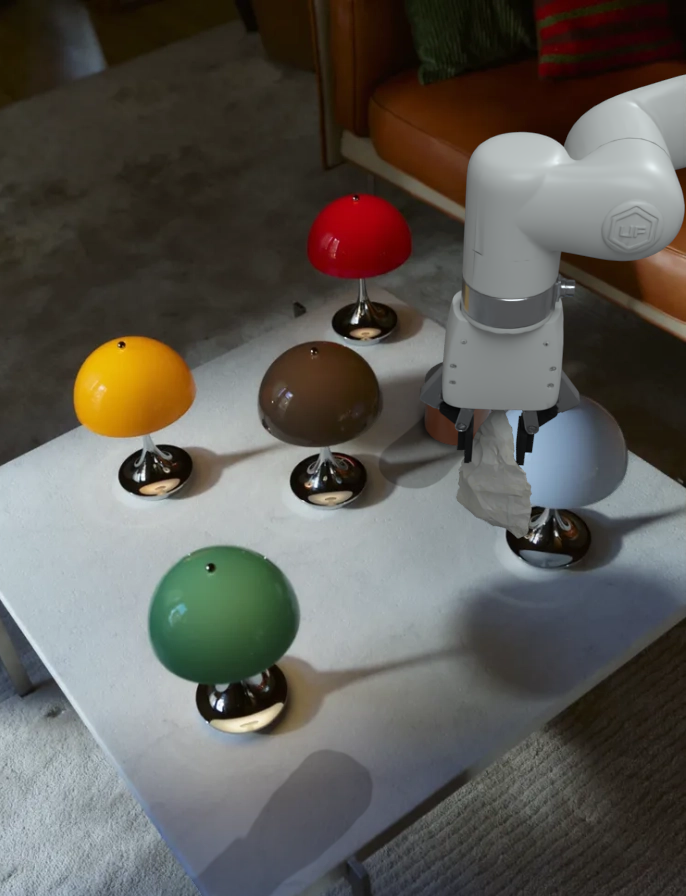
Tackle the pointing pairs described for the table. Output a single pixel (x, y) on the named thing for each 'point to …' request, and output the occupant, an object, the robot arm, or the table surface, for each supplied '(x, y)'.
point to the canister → (444, 427)
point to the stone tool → (495, 478)
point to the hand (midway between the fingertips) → (493, 452)
